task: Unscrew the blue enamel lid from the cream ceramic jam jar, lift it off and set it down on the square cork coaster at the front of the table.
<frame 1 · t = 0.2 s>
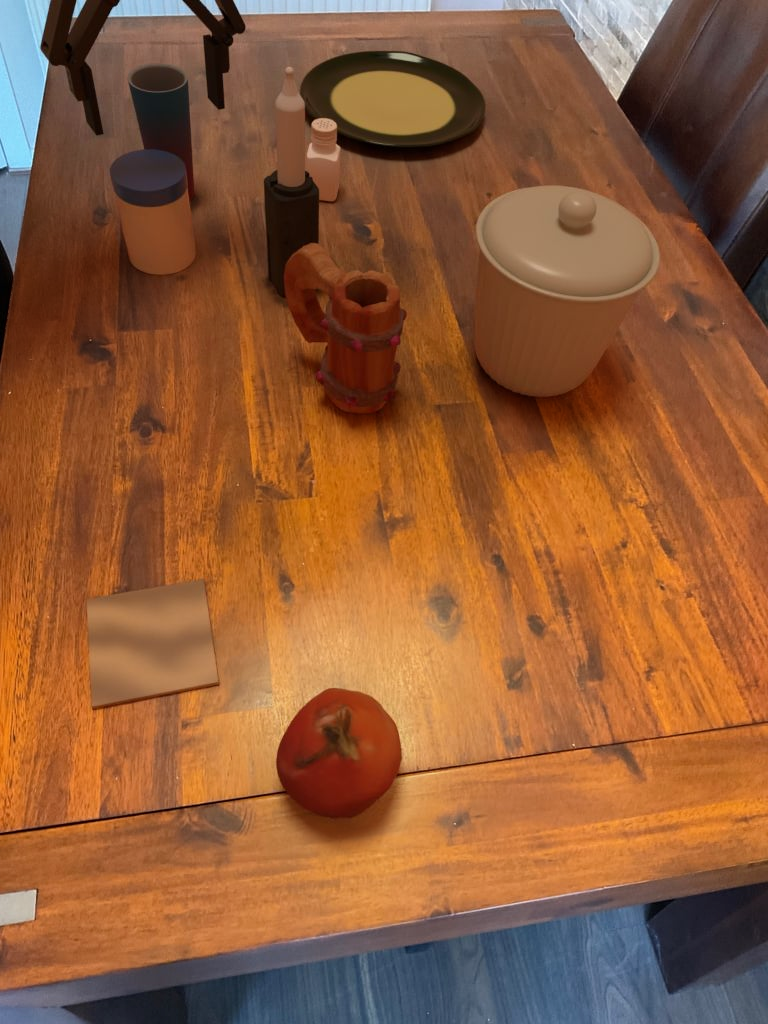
hand: (157, 115, 85), 16 cm above the table, tool pointing down, fingers open, 13 cm apart
candle: (293, 283, 96), on the table
tomato: (338, 770, 63), on the table
plate: (392, 111, 122), on the table
mug: (340, 384, 87), on the table
cup: (175, 195, 105), on the table
salt shaker: (322, 194, 108), on the table
coaster: (151, 641, 67), on the table
jar: (162, 254, 97), on the table
canister: (529, 364, 91), on the table
lid: (148, 172, 89), point 11 cm above the table, screwed on, not yet turned
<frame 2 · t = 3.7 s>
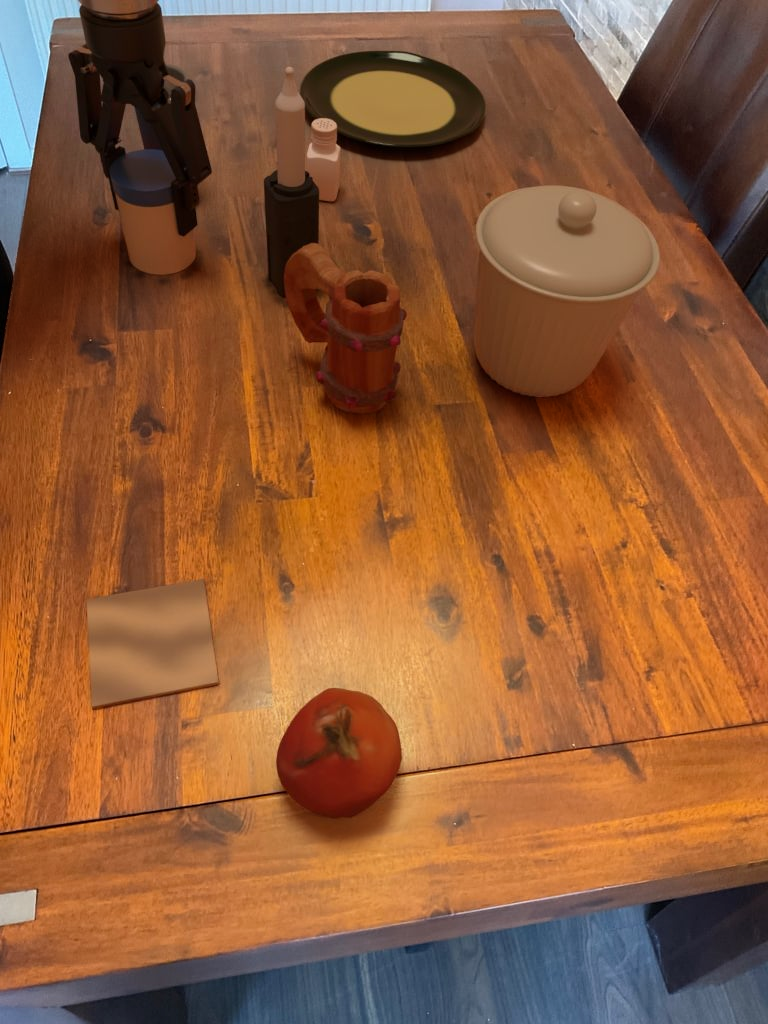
hand: (156, 216, 93), 5 cm above the table, tool pointing down, fingers closed on lid, 8 cm apart
lid: (148, 172, 89), point 11 cm above the table, screwed on, not yet turned, touching gripper
everything else where it was.
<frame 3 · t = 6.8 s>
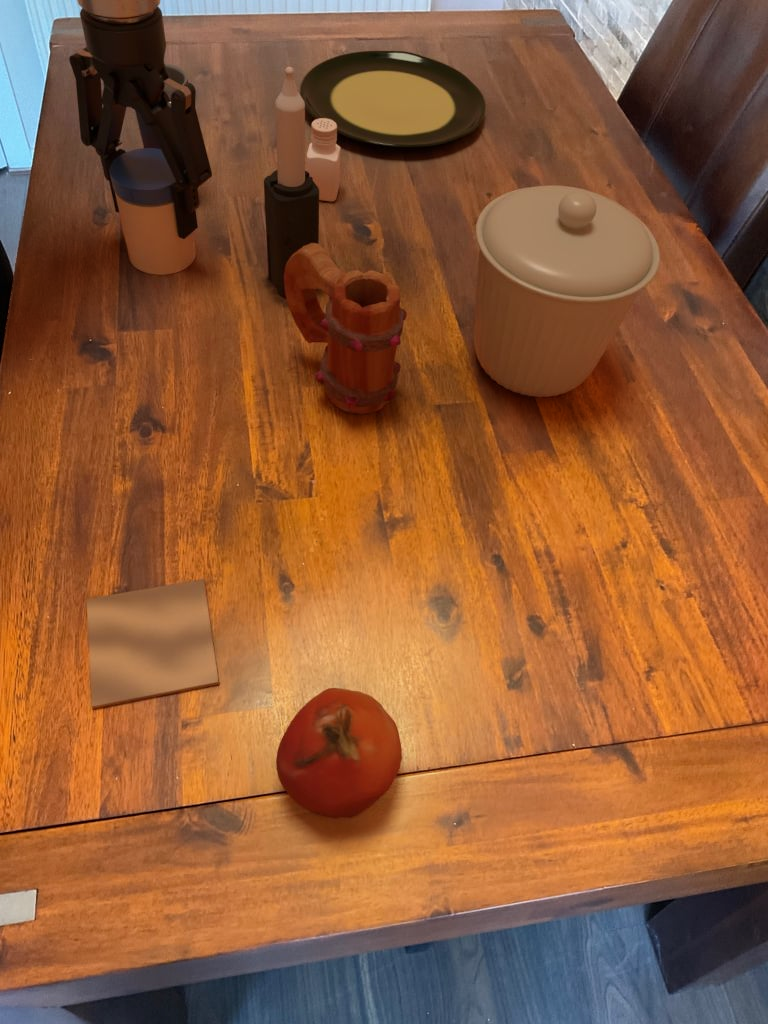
hand: (156, 219, 94), 5 cm above the table, tool pointing down, fingers closed on lid, 8 cm apart
lid: (148, 171, 89), point 11 cm above the table, turned 99° so far, risen 0.1 cm, still on its thread, touching gripper
everything else where it was.
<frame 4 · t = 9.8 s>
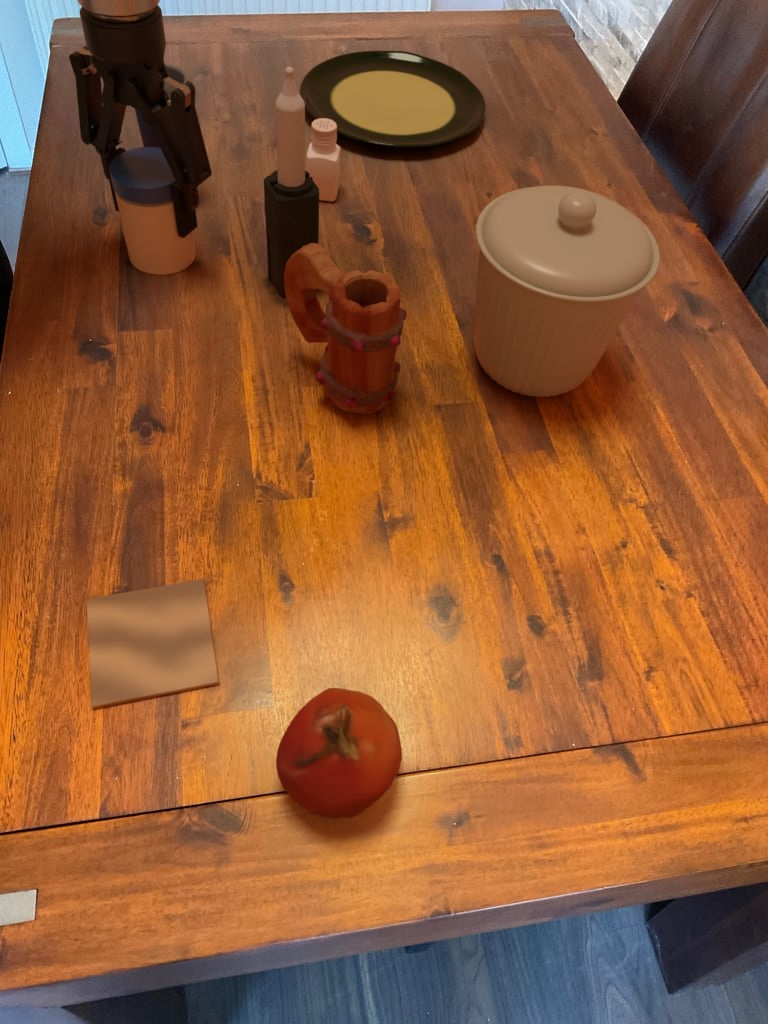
hand: (156, 218, 93), 5 cm above the table, tool pointing down, fingers closed on lid, 8 cm apart
lid: (148, 170, 89), point 11 cm above the table, turned 198° so far, risen 0.3 cm, still on its thread, touching gripper
everything else where it was.
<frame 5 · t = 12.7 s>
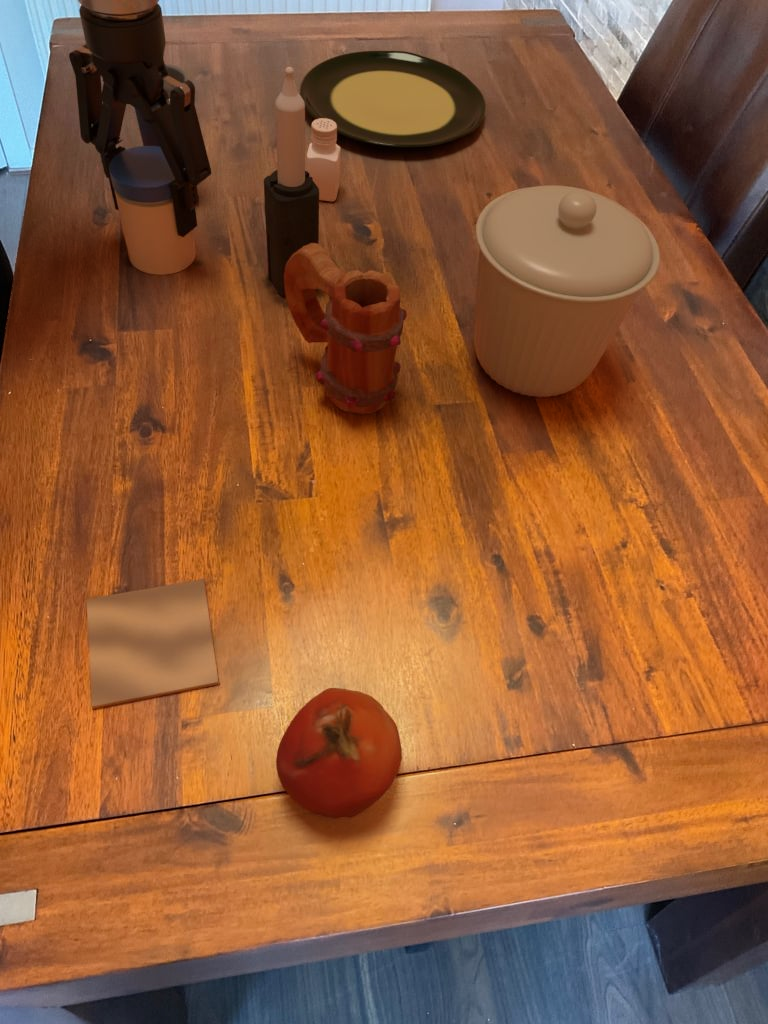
hand: (156, 217, 93), 5 cm above the table, tool pointing down, fingers closed on lid, 8 cm apart
lid: (148, 169, 88), point 11 cm above the table, turned 297° so far, risen 0.4 cm, still on its thread, touching gripper
everything else where it was.
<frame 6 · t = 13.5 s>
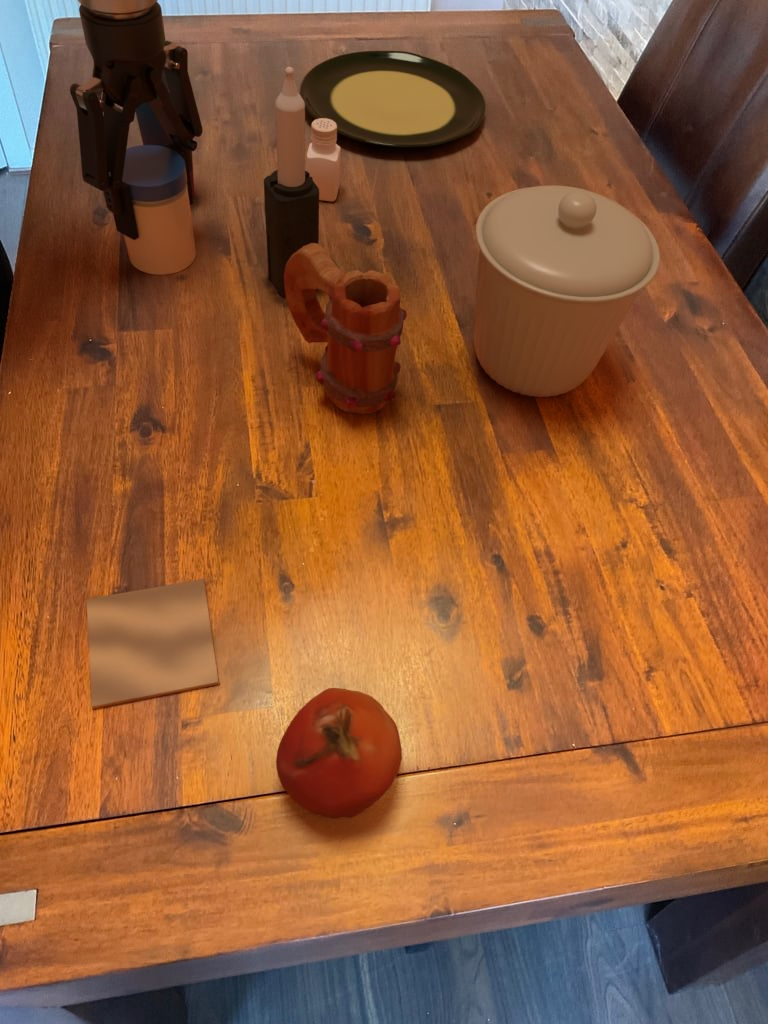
hand: (156, 216, 93), 5 cm above the table, tool pointing down, fingers closed on lid, 8 cm apart
lid: (147, 168, 88), point 11 cm above the table, off its thread, touching gripper
everything else where it was.
when the fingers open (1 cm above the table, at t = 23.6 s): lid drops 5 cm, resting on coaster.
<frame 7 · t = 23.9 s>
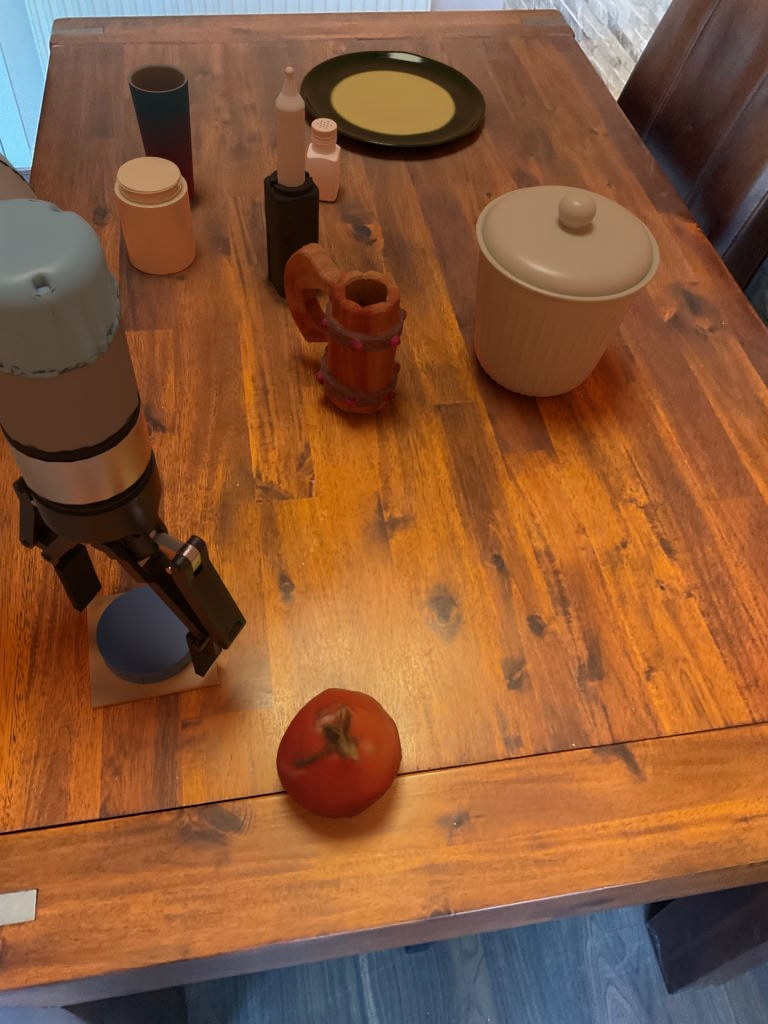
hand: (147, 629, 66), 2 cm above the table, tool pointing down, fingers open, 11 cm apart
lid: (148, 630, 66), point 2 cm above the table, off its thread, touching coaster
everything else where it was.
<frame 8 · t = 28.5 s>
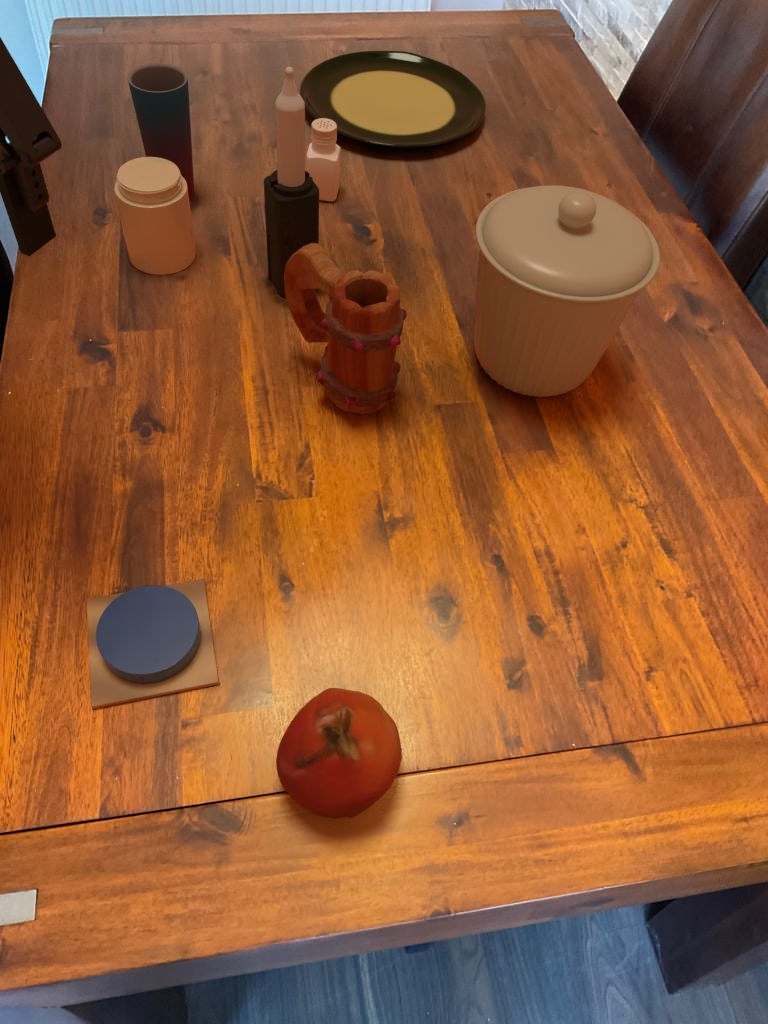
nothing on the table moved.
at the end: lid came off its thread; lid inside the target area on the coaster (0.1 cm from its centre), point 2.0 cm above the coaster's base; the gripper is holding nothing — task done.
